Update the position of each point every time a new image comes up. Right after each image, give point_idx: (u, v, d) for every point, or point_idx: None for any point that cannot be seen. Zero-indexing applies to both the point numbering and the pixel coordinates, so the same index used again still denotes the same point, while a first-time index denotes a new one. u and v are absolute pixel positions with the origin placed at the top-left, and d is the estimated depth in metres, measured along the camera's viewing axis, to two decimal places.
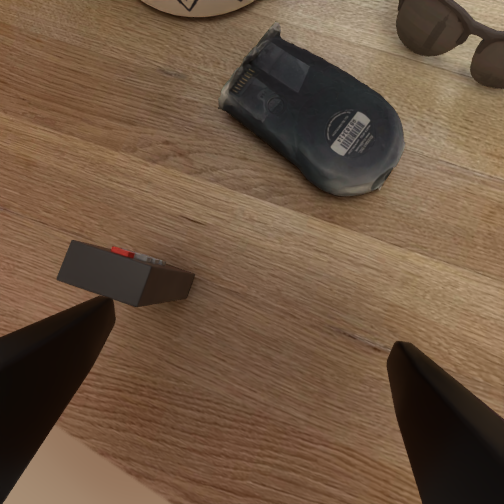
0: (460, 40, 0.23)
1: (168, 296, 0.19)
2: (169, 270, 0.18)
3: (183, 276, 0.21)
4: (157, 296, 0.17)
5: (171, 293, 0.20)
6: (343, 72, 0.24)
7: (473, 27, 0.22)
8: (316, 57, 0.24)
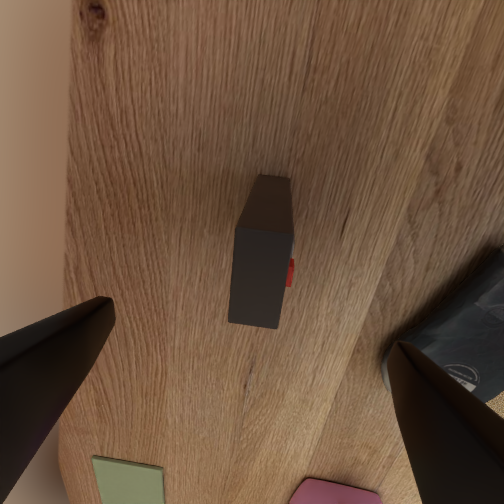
0: None
1: None
2: None
3: None
4: None
5: None
6: None
7: None
8: None
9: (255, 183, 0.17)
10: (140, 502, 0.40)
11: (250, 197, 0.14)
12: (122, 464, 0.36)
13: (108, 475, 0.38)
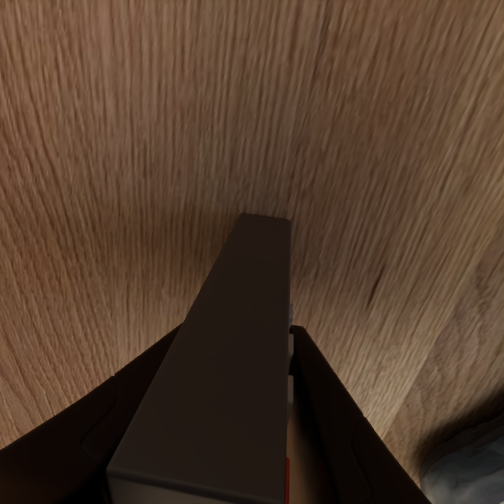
0: None
1: None
2: None
3: None
4: None
5: None
6: None
7: None
8: None
9: (229, 238, 0.10)
10: None
11: (205, 287, 0.07)
12: None
13: None
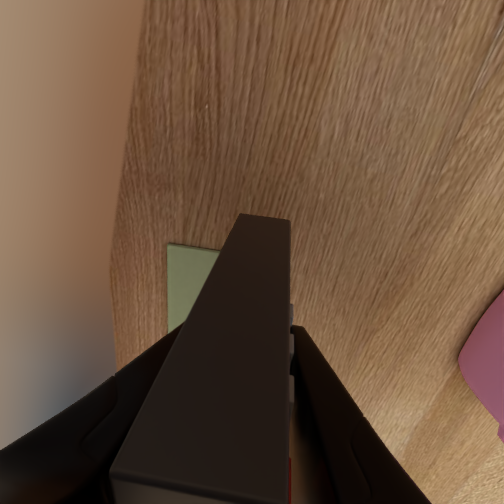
0: None
1: None
2: None
3: None
4: None
5: None
6: None
7: None
8: None
9: (229, 238, 0.10)
10: None
11: (206, 287, 0.07)
12: (217, 254, 0.23)
13: (189, 283, 0.24)
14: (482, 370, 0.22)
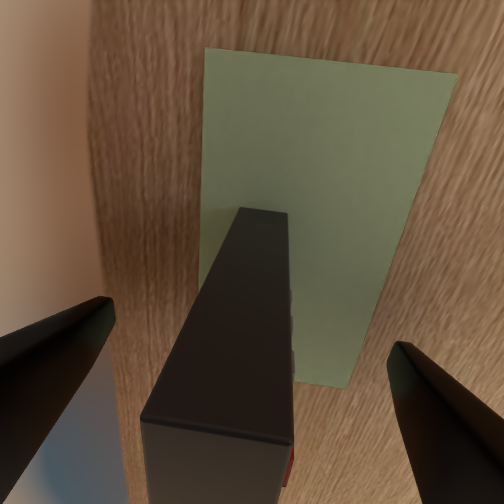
0: None
1: None
2: None
3: None
4: None
5: None
6: None
7: None
8: None
9: (231, 229, 0.11)
10: (315, 275, 0.14)
11: (212, 271, 0.08)
12: (314, 63, 0.10)
13: (246, 146, 0.12)
14: None
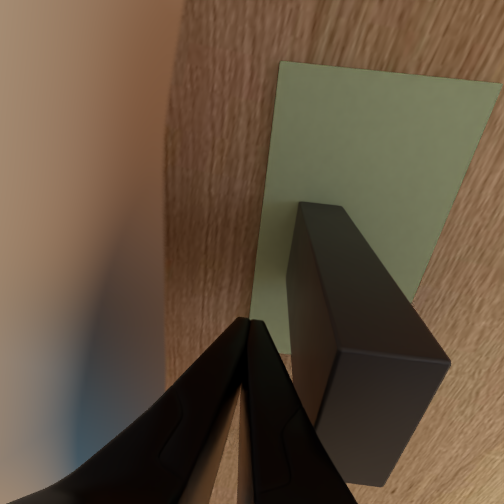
0: None
1: None
2: None
3: None
4: None
5: None
6: None
7: None
8: None
9: (306, 220, 0.12)
10: None
11: (317, 253, 0.09)
12: (376, 74, 0.12)
13: (309, 147, 0.13)
14: None
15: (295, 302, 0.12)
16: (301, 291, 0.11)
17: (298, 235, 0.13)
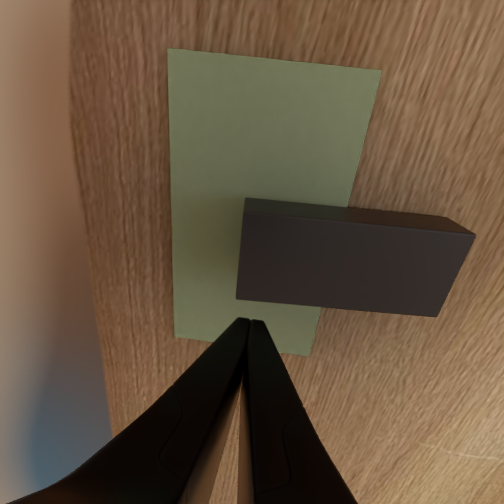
0: None
1: None
2: None
3: None
4: None
5: None
6: None
7: None
8: None
9: (309, 217, 0.12)
10: None
11: (381, 224, 0.12)
12: (260, 61, 0.12)
13: (207, 134, 0.14)
14: None
15: (336, 280, 0.14)
16: (357, 262, 0.13)
17: (289, 238, 0.13)
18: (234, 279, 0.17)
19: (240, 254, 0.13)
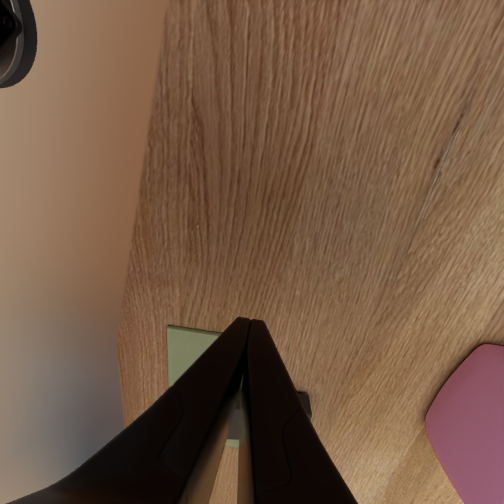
0: None
1: None
2: None
3: None
4: None
5: None
6: None
7: None
8: None
9: None
10: None
11: None
12: (210, 335, 0.26)
13: (186, 357, 0.28)
14: (441, 438, 0.25)
15: None
16: None
17: None
18: None
19: None
